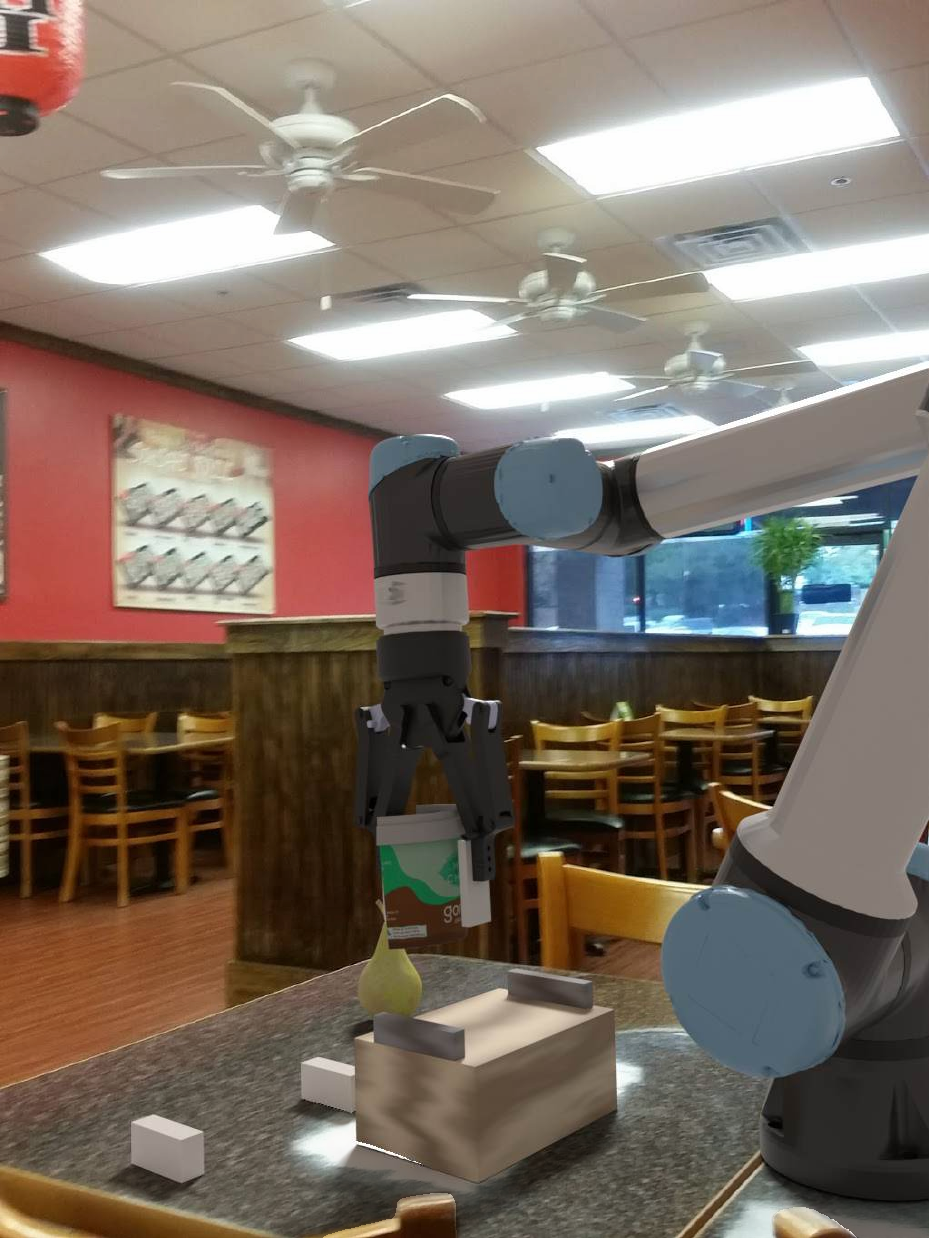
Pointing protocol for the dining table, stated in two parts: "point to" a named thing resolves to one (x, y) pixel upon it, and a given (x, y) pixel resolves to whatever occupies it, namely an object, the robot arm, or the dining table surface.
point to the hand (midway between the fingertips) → (436, 919)
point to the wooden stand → (487, 1075)
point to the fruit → (389, 980)
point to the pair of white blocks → (183, 1147)
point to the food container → (421, 876)
